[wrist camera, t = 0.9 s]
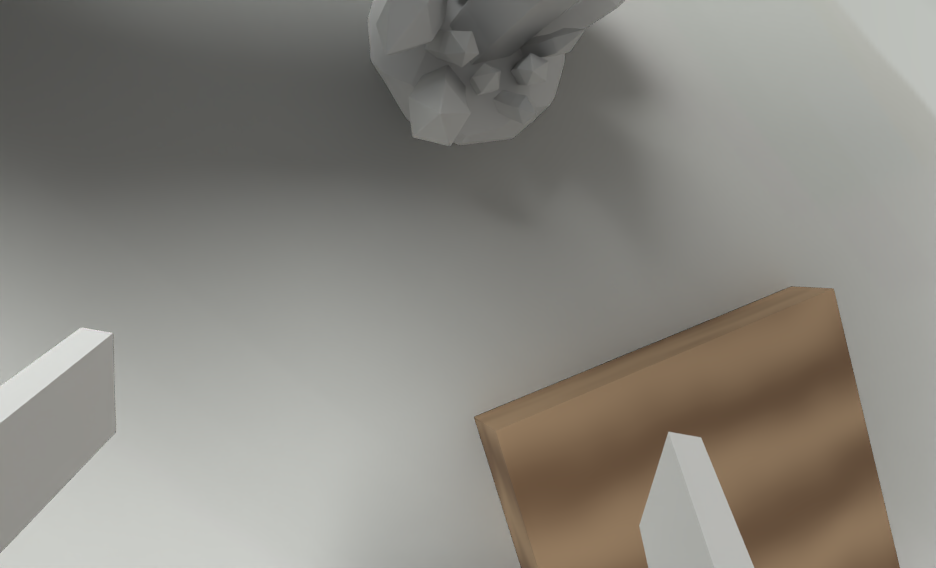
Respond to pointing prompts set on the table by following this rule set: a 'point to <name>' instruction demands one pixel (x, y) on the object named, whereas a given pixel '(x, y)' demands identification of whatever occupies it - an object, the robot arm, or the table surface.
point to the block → (724, 436)
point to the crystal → (475, 61)
